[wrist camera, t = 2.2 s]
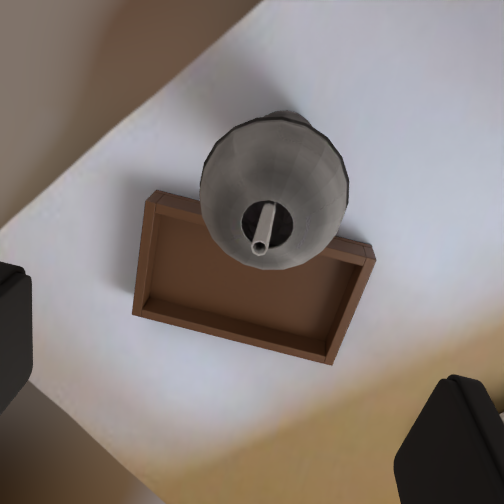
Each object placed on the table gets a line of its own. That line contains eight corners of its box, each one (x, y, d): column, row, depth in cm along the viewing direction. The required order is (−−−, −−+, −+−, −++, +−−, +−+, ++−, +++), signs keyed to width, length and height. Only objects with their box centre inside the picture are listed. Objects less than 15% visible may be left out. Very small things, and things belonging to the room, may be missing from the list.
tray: (371, 244, 34) (376, 259, 31) (330, 346, 39) (332, 366, 36) (156, 189, 34) (145, 200, 31) (141, 298, 38) (131, 314, 36)
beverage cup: (230, 184, 33) (143, 357, 15) (237, 83, 29) (136, 152, 12) (325, 196, 32) (350, 388, 15) (343, 95, 29) (404, 184, 11)
